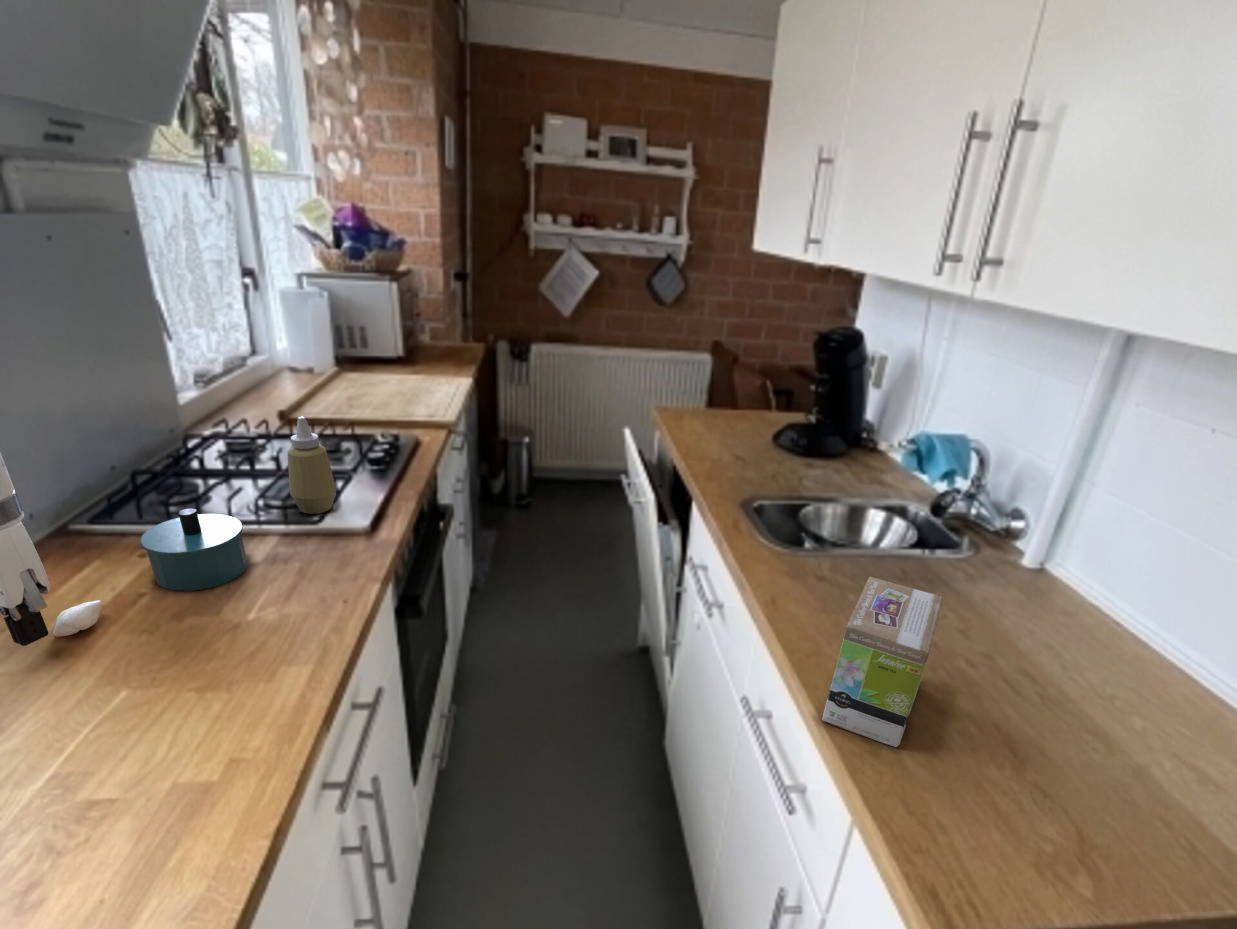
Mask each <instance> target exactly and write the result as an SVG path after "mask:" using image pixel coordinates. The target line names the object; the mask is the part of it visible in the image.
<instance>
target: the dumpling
mask: <svg viewBox="0 0 1237 929" xmlns="http://www.w3.org/2000/svg"><path fill="white" fill-rule="evenodd" d="M69 601H70V602H71V600H70V599H69ZM101 610H102V601H101V600H99V599H98V600H92V601H87V602H86V601H85V602H83V603H81V604H78V605H75V606H72V607H69V608H67V609H64V610H62V611H61V612H59V614H58V616H57V617H56V618H55V619H56V620H55V621H56V622H55V625H54V627H53V631H52V634H53V636H54V637H67V636H71V635H74V634H77V633H78V632H80V630H81V631H84V630H87V629H89V628H90V627H93V626H94V625H95V624H96V623H97V622H98V620H99V617H100V615H101Z"/></svg>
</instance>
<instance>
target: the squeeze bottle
mask: <svg viewBox="0 0 1237 929" xmlns="http://www.w3.org/2000/svg"><path fill="white" fill-rule="evenodd" d="M296 424H297V425H296V434H293V435H292V436H290V443H291V447H290V448H289V449H288V450H287V451H286V452H287V453H286V454H287V466H288V467H287V468H288V480H289V481H288V482H289V483H288V484H289V494H290V496H291V498H292V499H293V501H294V502H295V504H296V506H297V507H298V510H299V511H300V512H302V513H304V514H308V515H309V514H321V513H325V512H328V511H329V510H331V509H332V508H333V506H334V501H335V498H336V497H335V496H336V493H337V486H336V482H335V478H334V474H333V471H332V467H331V463H330V459H329V455H328V452H327V449H326V447H325V446H323V445H321V444H320V438H319V434H316V433H313V432H312V431H311V429H310V426H309V424H308V421H307V419H306V417H305V416H303V415H301V416H298V417H297V421H296Z"/></svg>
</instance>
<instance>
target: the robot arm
mask: <svg viewBox="0 0 1237 929" xmlns="http://www.w3.org/2000/svg"><path fill="white" fill-rule="evenodd" d="M24 518H25V513H24V510H23V506H22V505H21V502H20V499H19V497H18V495H17V491H16V490H15V487H14V484H13V481H12V479H11V476H10V473H9V471H8V468H7V465H6V462H5V460H4V458H3V455H2V452H1V451H0V614H1V616H3V620H4V622H5V624H6V627H7V629H8V632H9V634H10V636H11V639H12V641H13V643H15V644H18V645H20V646H22V647H26V646H29V645H31V644H33V643H35V642H37V641H39V640H41V639H44V638H45V637H47V636H49V630H48V628H47V624H46V623H45V619H44V618H43V617H44V616H43V614H42V610H44V609H47V608H48V604H47V602H46V601H45V599H44V597H43V596H42V595H47V594H48V593H50V591H51V586H50V585H51V584H50V581H49V578H48V575H47V572H46V570H45V567H44V565H43V562H42V560H41V558H40V556H39V554H38V551H37V549H36V547H35V544H34V543H33V541H32V538H31V536H30V534H29V533H28V531H27V529H26V528H25V526H24V524H23V522H22V520H24Z"/></svg>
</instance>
